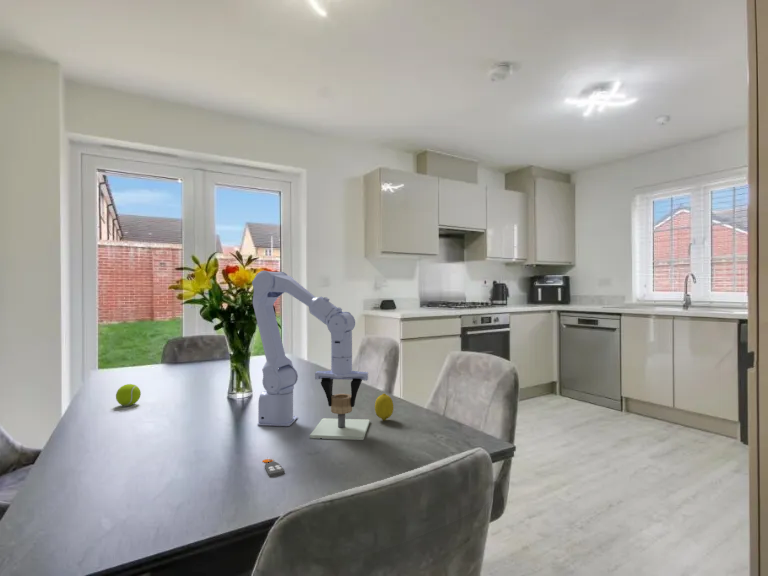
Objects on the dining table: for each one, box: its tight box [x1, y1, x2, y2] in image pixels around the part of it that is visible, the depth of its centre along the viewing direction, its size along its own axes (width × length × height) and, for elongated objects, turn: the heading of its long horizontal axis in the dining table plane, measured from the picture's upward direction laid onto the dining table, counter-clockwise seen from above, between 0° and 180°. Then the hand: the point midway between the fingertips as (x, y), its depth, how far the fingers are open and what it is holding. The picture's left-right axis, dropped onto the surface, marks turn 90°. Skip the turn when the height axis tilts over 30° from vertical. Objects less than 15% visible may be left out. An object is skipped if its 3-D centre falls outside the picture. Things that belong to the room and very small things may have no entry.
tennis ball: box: [115, 383, 142, 407], centre depth 138 cm, size 7×7×7 cm
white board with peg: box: [309, 414, 371, 441], centre depth 115 cm, size 14×14×5 cm
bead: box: [330, 393, 353, 415], centre depth 114 cm, size 6×6×4 cm
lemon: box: [374, 393, 394, 421], centre depth 123 cm, size 6×6×8 cm
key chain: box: [261, 458, 286, 478], centre depth 92 cm, size 13×4×2 cm, turn 30°
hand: (341, 405), depth 115 cm, fingers closed on bead, 6 cm apart
